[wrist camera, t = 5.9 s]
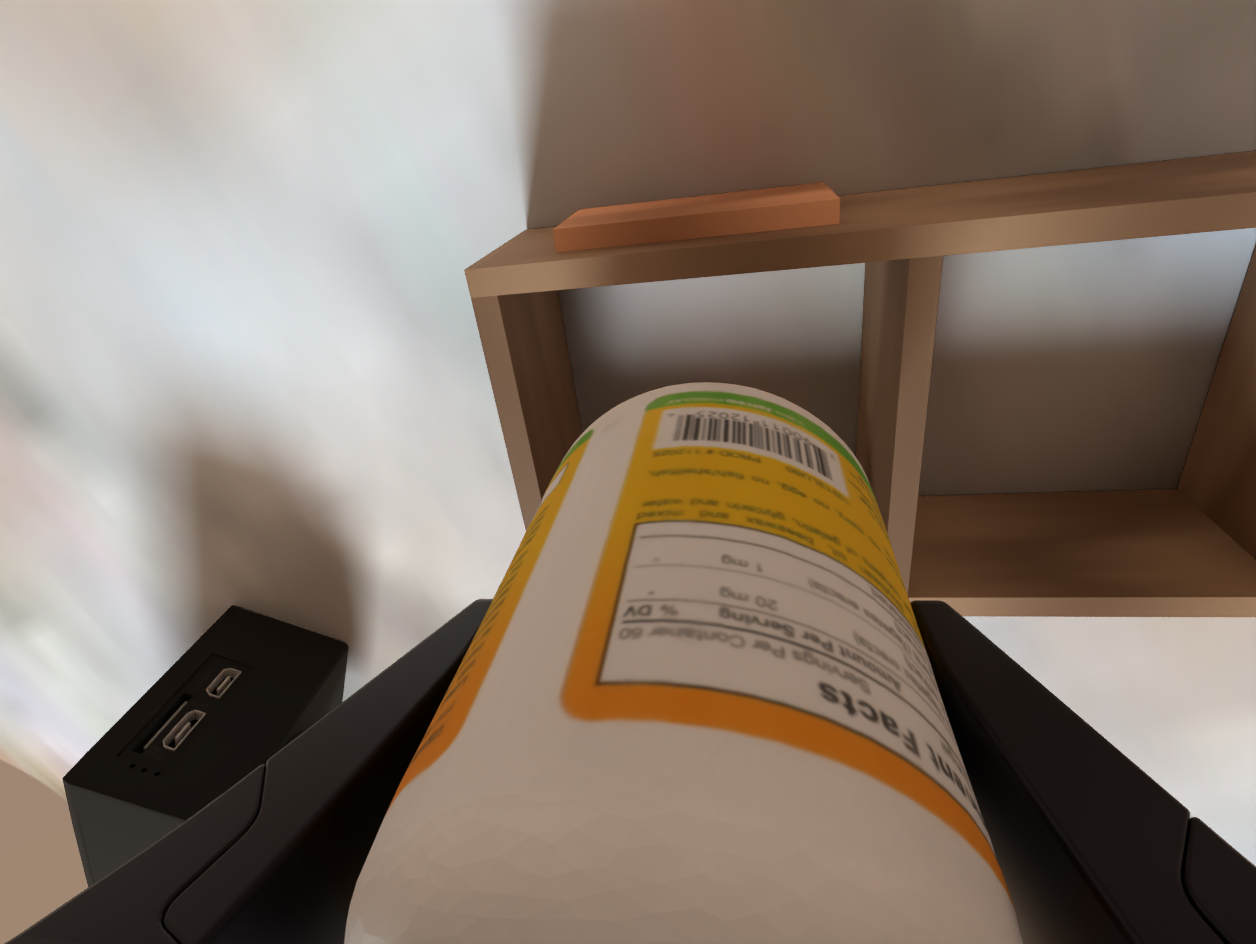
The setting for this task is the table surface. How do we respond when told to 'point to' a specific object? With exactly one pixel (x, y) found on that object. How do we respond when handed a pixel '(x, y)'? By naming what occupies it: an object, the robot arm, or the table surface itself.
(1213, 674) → the table surface
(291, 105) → the table surface
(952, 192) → the bottle rack
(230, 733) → the digital camera
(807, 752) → the supplement bottle
